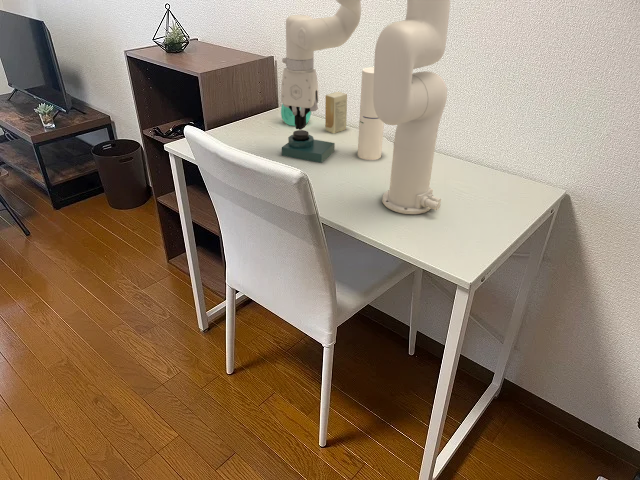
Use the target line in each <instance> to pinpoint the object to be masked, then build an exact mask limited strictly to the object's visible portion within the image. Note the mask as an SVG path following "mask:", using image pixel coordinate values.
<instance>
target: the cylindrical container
mask: <svg viewBox="0 0 640 480" xmlns="http://www.w3.org/2000/svg"><path fill="white" fill-rule="evenodd" d="M360 85H361V87H360V102H359V103H360V106H359V120H358V121H359V123H358V137H357V139H358V140H357V157H358V158H360V159H362V160H367V161H375V160H379V159H380V158H381V157H382V152H383V151H382V150H383V139H384V127H385V123H383V122H382V121H381V120H380V119H379V118H378V116H377V114H376V112H375V108H374V102H373V86H374V66H370V67H363V68H362V70H361V84H360Z"/></svg>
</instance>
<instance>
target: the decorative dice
mask: <svg viewBox="0 0 640 480" xmlns="http://www.w3.org/2000/svg"><path fill="white" fill-rule="evenodd" d="M280 109H281V110H280V116H281V119H282V121H283V122H284V124H286V125H288V126H291V127H296V125H295V116H294V115H293V112H292V111H291V110H290V108H287V107H285V106H283V103H282V104H281V107H280ZM300 110H301V107H300ZM311 115H312V111H310V112H309V113H308V114H306V125H307V124H308V123H309V121H310V119H311Z"/></svg>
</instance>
